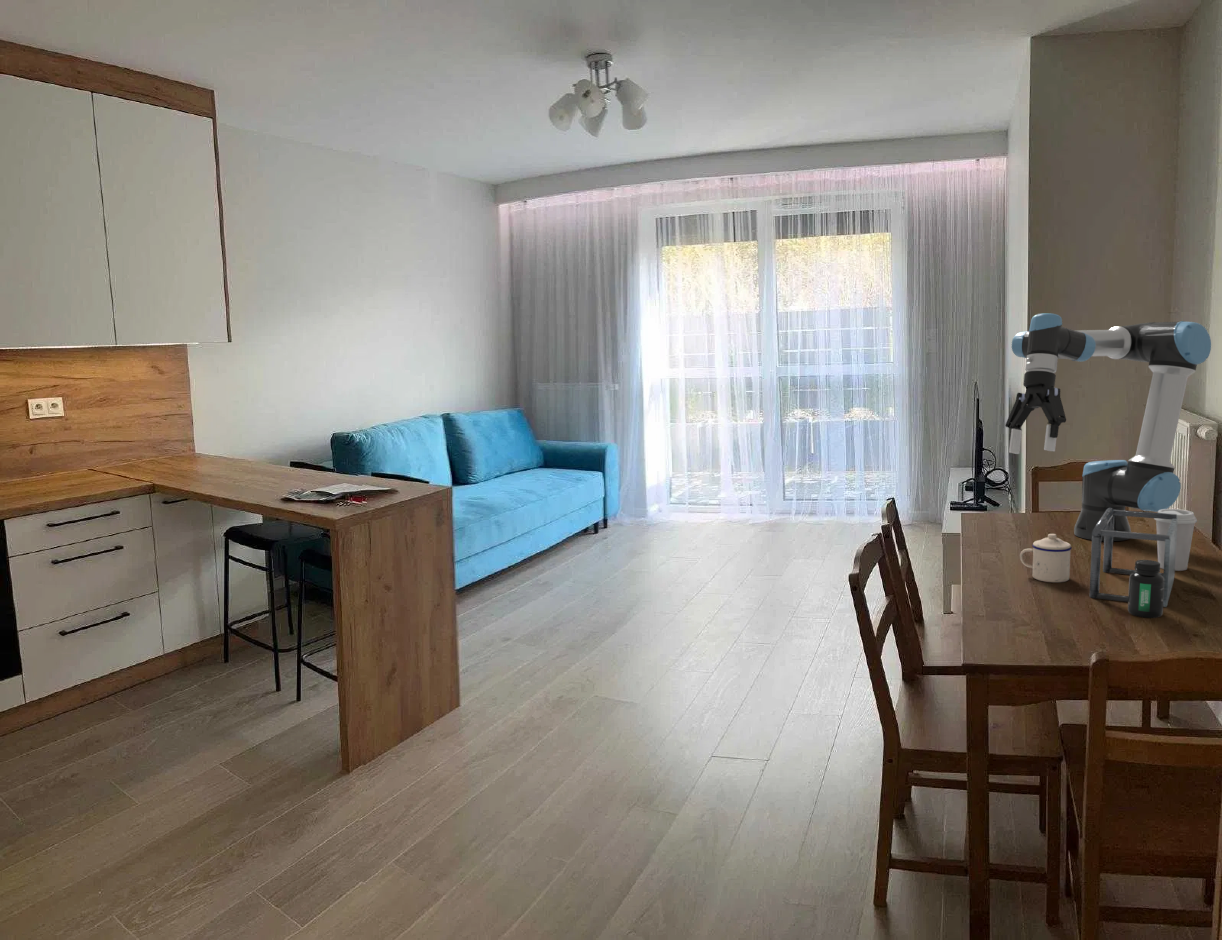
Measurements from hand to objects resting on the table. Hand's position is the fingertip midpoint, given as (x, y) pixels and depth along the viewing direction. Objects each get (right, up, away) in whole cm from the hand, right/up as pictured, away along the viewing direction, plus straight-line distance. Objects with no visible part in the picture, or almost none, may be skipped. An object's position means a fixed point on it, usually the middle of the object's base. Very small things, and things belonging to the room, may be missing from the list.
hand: (1031, 452), depth 237 cm
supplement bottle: (+11, -37, -32) cm, 51 cm away
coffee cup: (+38, -31, +2) cm, 49 cm away
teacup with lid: (+3, -33, -2) cm, 33 cm away
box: (+19, -34, -13) cm, 41 cm away
